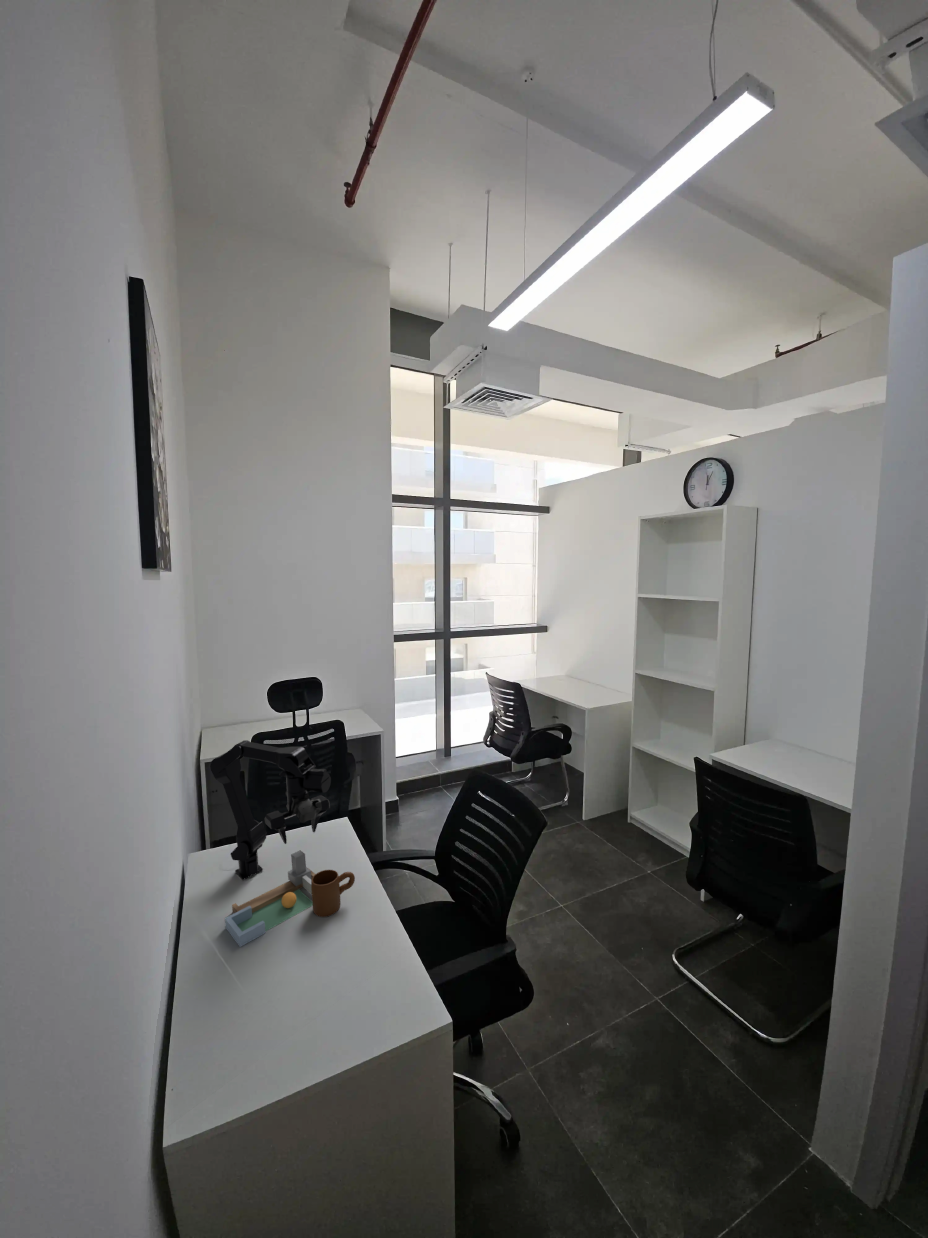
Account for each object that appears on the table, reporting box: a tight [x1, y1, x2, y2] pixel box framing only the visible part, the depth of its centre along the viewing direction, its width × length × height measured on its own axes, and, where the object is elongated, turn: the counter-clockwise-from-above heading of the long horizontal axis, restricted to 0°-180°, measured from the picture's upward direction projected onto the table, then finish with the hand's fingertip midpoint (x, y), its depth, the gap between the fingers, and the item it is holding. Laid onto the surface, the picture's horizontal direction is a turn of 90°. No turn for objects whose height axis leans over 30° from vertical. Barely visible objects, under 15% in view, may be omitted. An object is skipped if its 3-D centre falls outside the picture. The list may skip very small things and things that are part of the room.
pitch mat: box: [237, 889, 313, 932], centre depth 135 cm, size 10×21×1 cm, turn 135°
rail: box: [231, 867, 316, 914], centre depth 143 cm, size 5×23×2 cm, turn 135°
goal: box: [224, 906, 267, 948], centre depth 129 cm, size 10×7×3 cm, turn 45°
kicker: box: [287, 850, 312, 895], centre depth 145 cm, size 12×5×9 cm, turn 45°
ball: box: [282, 892, 296, 908], centre depth 138 cm, size 4×4×4 cm
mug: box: [311, 869, 356, 918], centre depth 137 cm, size 12×8×9 cm, turn 112°
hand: (299, 837), depth 150 cm, fingers open, 9 cm apart
